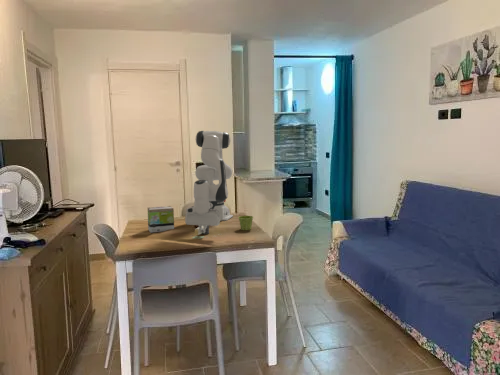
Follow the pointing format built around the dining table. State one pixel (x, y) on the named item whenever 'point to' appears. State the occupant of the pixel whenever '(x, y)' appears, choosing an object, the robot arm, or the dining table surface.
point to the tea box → (160, 218)
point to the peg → (198, 231)
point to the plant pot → (245, 222)
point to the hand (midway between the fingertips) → (203, 232)
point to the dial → (201, 237)
